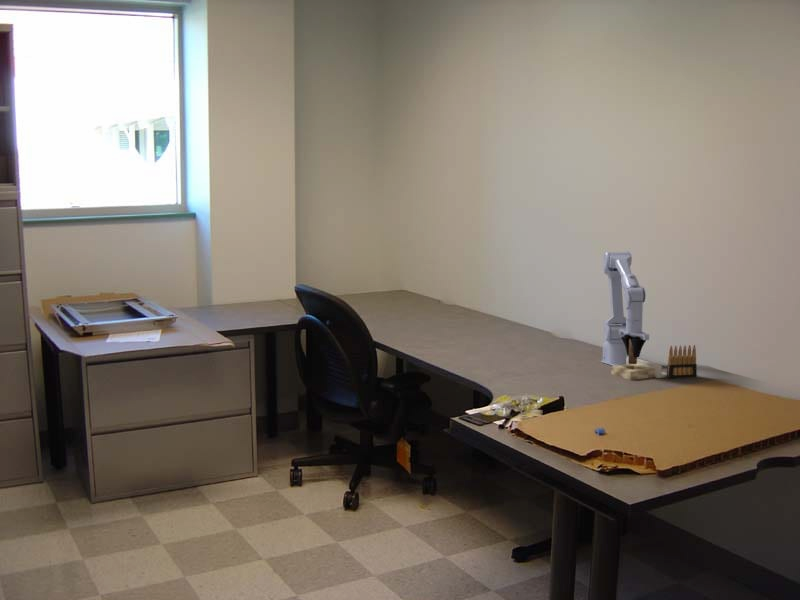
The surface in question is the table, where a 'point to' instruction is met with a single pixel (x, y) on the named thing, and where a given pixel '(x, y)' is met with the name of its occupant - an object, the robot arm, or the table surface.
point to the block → (633, 371)
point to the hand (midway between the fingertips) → (633, 356)
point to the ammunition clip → (682, 363)
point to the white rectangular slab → (652, 365)
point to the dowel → (631, 354)
